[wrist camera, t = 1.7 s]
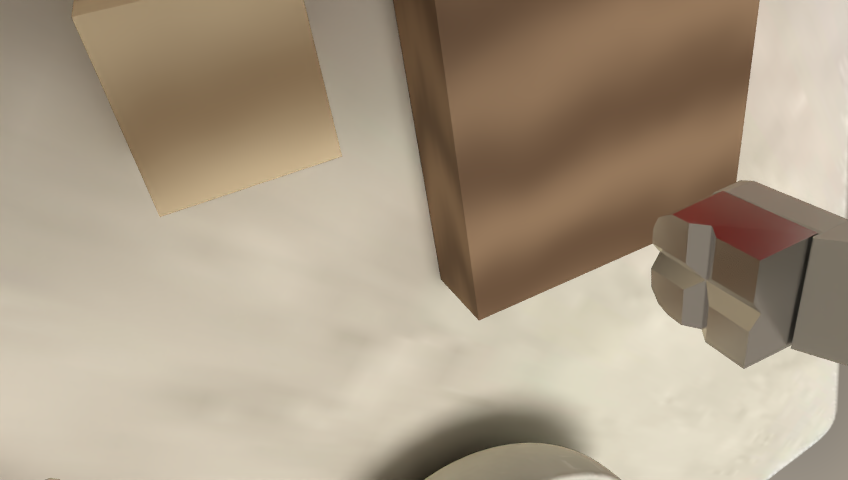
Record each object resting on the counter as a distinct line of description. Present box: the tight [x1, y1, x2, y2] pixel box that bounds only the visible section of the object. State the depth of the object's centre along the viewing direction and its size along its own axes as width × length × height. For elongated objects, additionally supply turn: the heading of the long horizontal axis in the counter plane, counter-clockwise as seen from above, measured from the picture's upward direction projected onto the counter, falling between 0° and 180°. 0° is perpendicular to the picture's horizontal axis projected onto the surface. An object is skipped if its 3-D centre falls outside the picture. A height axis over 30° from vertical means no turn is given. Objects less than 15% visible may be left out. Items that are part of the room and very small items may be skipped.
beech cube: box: [72, 0, 342, 217], centre depth 21 cm, size 6×6×6 cm
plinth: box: [393, 0, 760, 320], centre depth 29 cm, size 16×16×4 cm
